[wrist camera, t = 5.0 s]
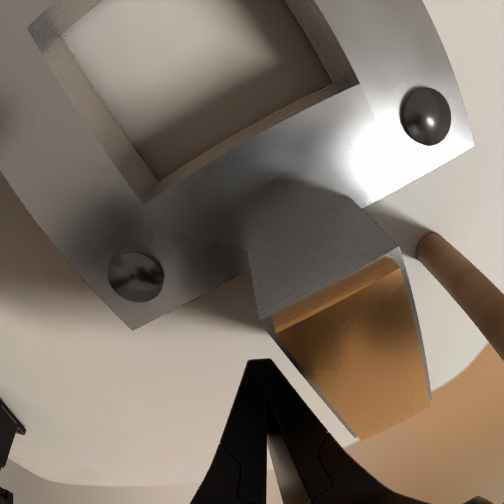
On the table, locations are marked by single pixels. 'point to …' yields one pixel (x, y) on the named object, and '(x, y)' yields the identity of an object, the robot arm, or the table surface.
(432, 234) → the dowel
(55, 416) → the table surface
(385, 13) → the grey bolted fixture plate
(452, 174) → the table surface
